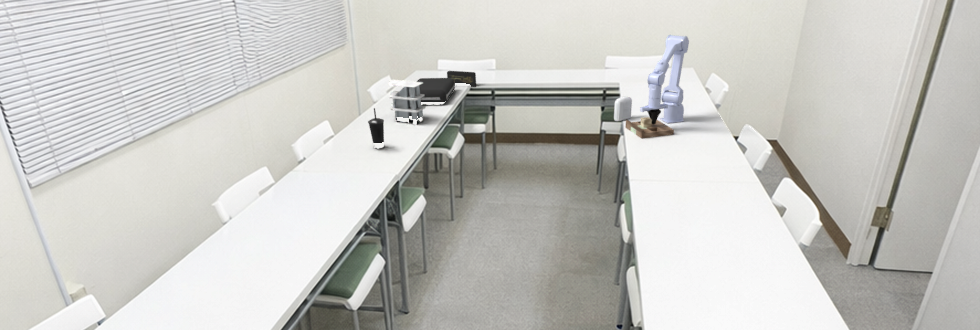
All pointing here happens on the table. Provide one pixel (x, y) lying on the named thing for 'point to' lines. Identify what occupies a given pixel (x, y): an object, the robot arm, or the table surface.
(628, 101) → the photo printer
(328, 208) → the table surface
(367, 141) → the table surface
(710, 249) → the table surface
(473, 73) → the nameplate
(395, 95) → the file organizer
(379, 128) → the drinking cup
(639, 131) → the box
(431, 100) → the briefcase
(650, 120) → the maple block
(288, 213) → the table surface
